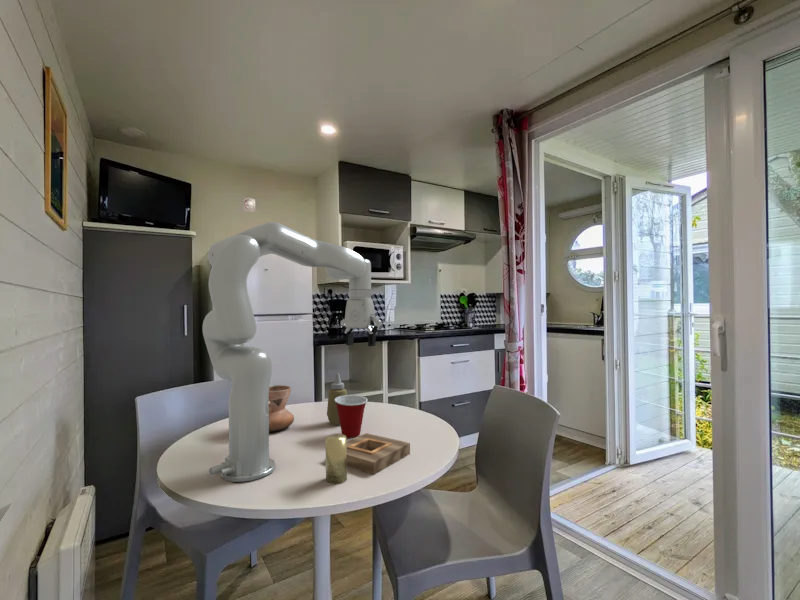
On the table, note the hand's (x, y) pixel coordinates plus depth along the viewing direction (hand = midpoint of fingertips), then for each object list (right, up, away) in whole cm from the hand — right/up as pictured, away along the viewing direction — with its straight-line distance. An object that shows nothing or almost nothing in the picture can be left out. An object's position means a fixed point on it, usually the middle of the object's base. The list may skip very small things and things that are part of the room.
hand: (360, 345), depth 127 cm
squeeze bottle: (-9, -30, +8) cm, 32 cm away
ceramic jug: (-31, -30, +4) cm, 43 cm away
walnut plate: (+5, -28, -24) cm, 37 cm away
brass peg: (-2, -28, -37) cm, 46 cm away
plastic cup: (-2, -29, -5) cm, 29 cm away
